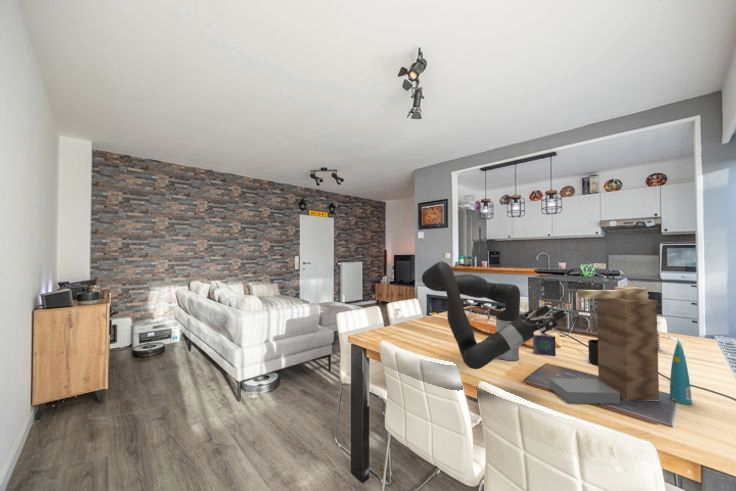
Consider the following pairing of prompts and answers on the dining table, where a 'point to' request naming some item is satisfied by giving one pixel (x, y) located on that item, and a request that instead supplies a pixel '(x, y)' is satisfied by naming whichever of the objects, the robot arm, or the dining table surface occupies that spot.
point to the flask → (544, 344)
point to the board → (584, 391)
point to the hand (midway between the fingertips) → (555, 309)
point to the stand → (628, 347)
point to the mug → (593, 351)
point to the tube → (680, 377)
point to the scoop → (615, 293)
